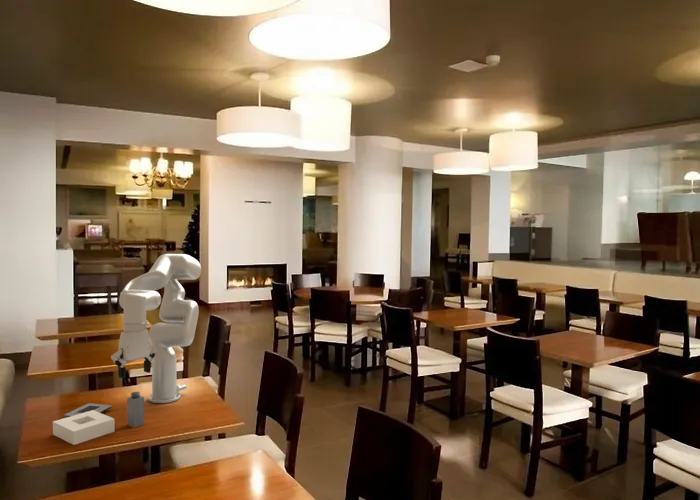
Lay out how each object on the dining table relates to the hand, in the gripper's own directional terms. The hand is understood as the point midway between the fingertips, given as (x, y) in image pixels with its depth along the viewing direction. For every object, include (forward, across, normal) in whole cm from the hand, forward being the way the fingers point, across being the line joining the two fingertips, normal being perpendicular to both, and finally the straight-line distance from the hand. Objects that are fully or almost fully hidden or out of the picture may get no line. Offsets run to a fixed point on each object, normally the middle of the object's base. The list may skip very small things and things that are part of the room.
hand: (134, 374), depth 186 cm
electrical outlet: (+19, +4, -23) cm, 30 cm away
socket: (+18, +14, -7) cm, 24 cm away
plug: (+18, 0, 0) cm, 18 cm away
